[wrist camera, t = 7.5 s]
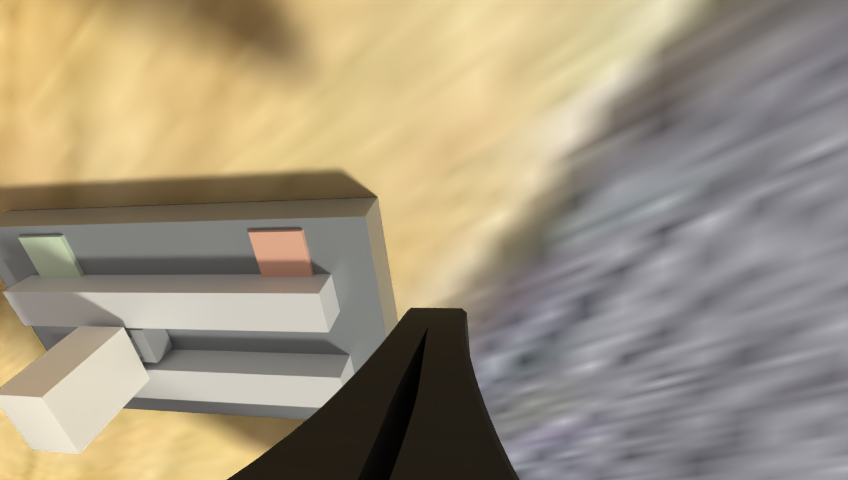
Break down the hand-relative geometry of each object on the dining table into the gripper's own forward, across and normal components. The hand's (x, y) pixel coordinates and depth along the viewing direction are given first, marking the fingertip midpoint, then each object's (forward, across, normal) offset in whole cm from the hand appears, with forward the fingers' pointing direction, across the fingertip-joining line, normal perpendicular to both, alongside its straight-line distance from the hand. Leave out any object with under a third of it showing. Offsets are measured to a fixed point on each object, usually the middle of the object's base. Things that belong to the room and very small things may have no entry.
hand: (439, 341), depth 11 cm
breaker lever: (+7, +17, +6) cm, 19 cm away
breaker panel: (+9, +14, +6) cm, 18 cm away
